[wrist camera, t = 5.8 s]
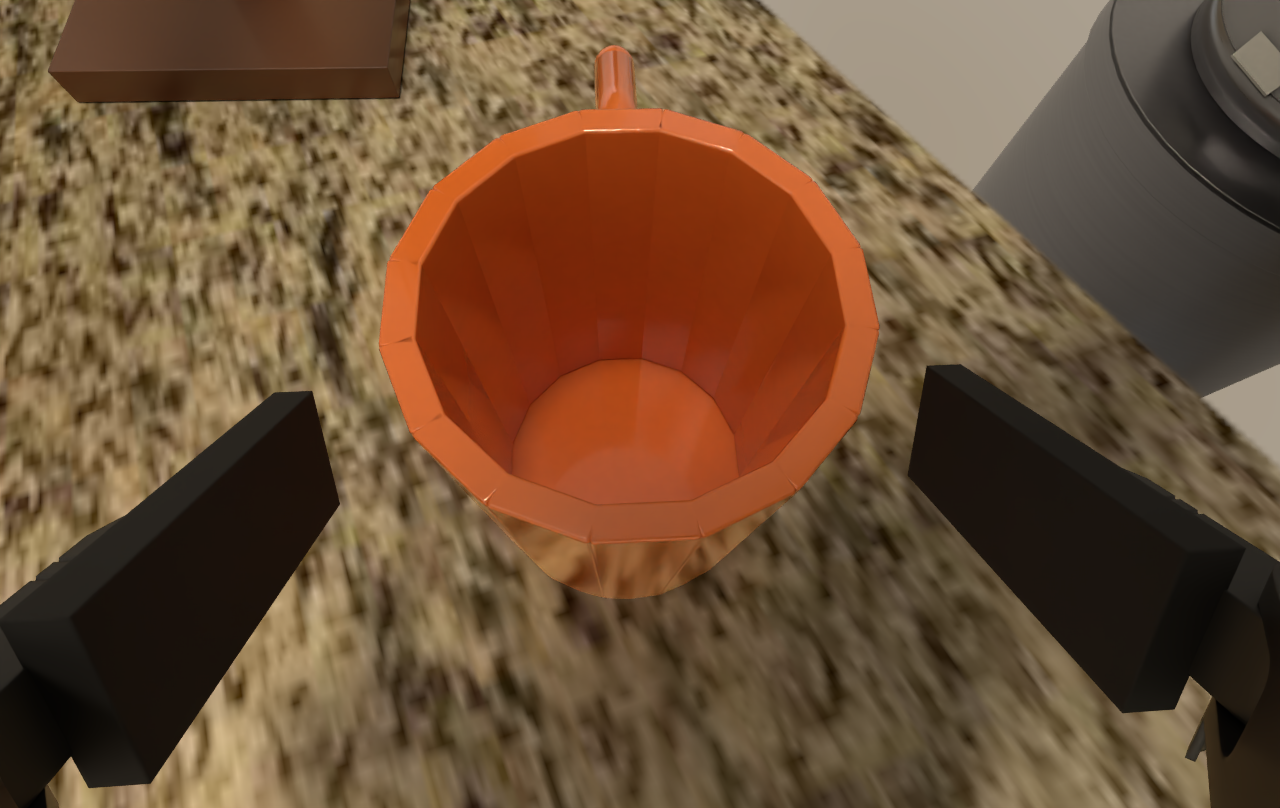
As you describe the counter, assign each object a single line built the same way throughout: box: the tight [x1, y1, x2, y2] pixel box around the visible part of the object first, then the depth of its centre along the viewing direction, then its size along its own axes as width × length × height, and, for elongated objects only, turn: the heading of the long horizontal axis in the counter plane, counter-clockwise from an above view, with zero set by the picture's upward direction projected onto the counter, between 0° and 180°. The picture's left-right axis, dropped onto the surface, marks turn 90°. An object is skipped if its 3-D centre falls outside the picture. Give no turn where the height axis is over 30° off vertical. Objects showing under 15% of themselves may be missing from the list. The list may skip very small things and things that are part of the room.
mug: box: [379, 45, 880, 599], centre depth 17 cm, size 12×8×11 cm
